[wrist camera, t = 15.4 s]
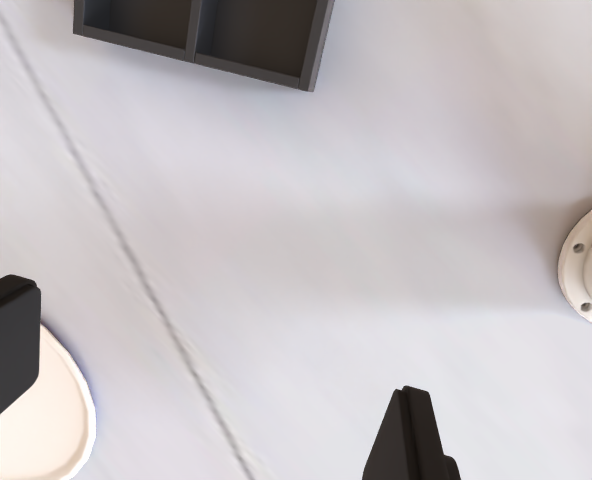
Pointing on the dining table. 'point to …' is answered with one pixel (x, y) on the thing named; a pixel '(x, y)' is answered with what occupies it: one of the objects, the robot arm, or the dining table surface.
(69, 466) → the plate
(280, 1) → the tray
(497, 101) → the dining table surface
